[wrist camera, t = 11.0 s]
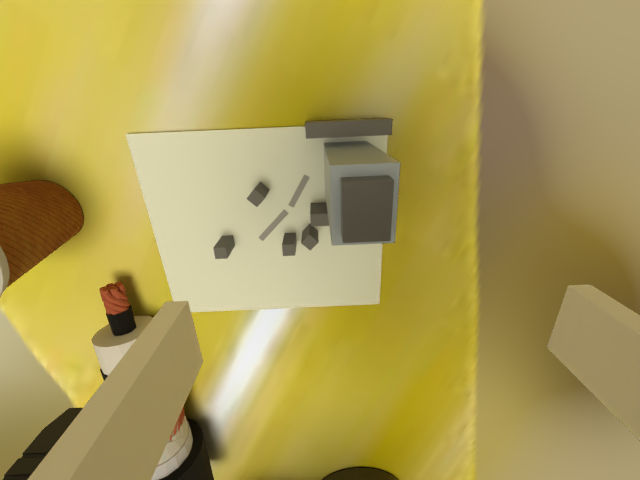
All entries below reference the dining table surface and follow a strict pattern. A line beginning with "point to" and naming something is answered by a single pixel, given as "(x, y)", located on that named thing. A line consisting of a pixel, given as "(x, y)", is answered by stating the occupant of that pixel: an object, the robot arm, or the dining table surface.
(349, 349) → the dining table surface
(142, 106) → the dining table surface
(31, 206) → the disposable coffee cup
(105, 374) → the cable
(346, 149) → the block
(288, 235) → the routing panel
